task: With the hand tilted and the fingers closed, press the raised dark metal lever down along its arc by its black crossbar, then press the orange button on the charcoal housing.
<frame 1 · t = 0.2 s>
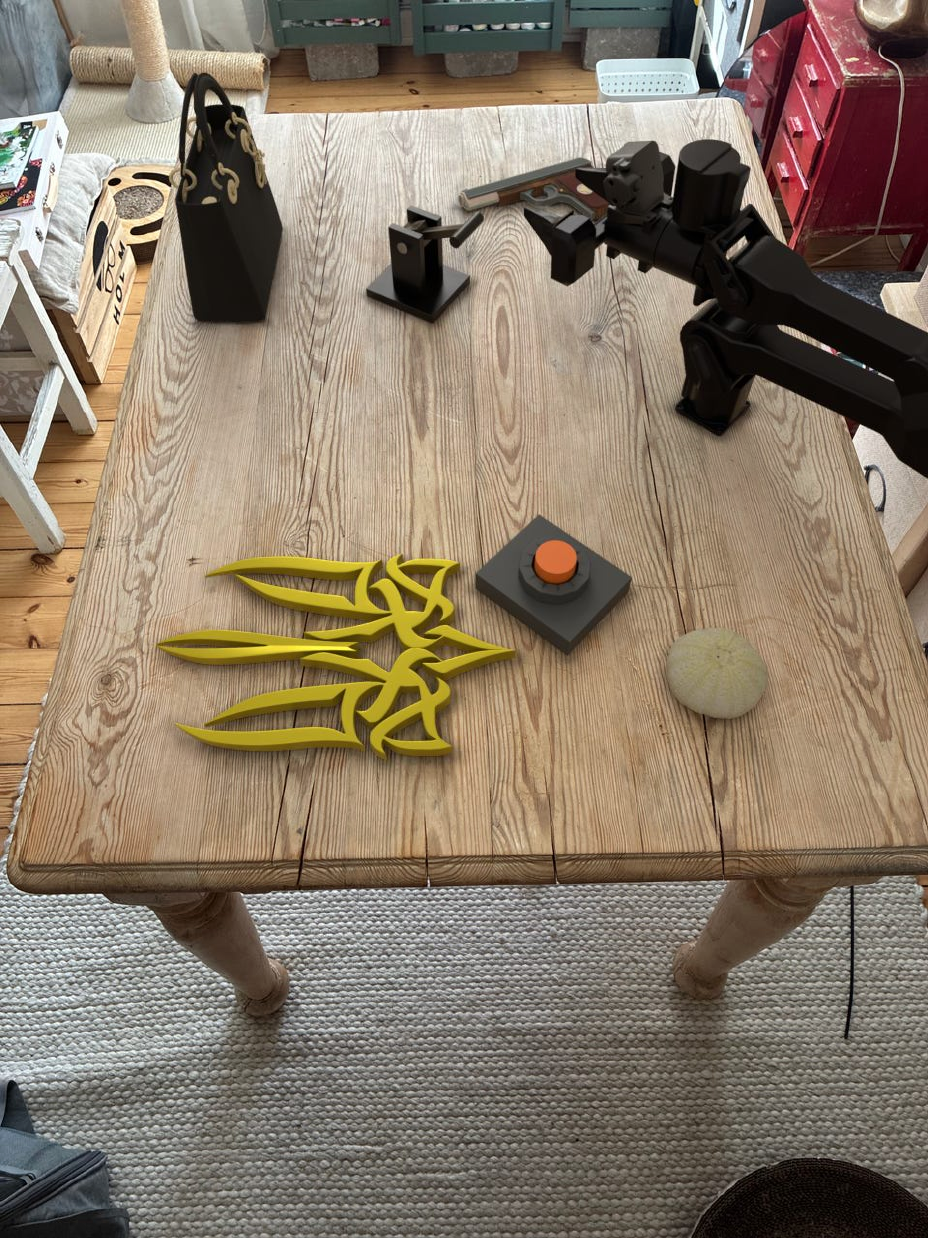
hand: (550, 191, 103), 17 cm above the table, tool horizontal, fingers open, 9 cm apart
handbag: (241, 276, 121), on the table
trident: (336, 655, 91), on the table
button: (555, 561, 91), point 5 cm above the table, slide at 0.1 cm
sea urchin shell: (710, 682, 90), on the table
bracket: (418, 289, 119), on the table
button box: (551, 590, 95), on the table
handgun: (539, 209, 128), on the table
lever: (438, 232, 110), point 10 cm above the table, hinge at 25.0°
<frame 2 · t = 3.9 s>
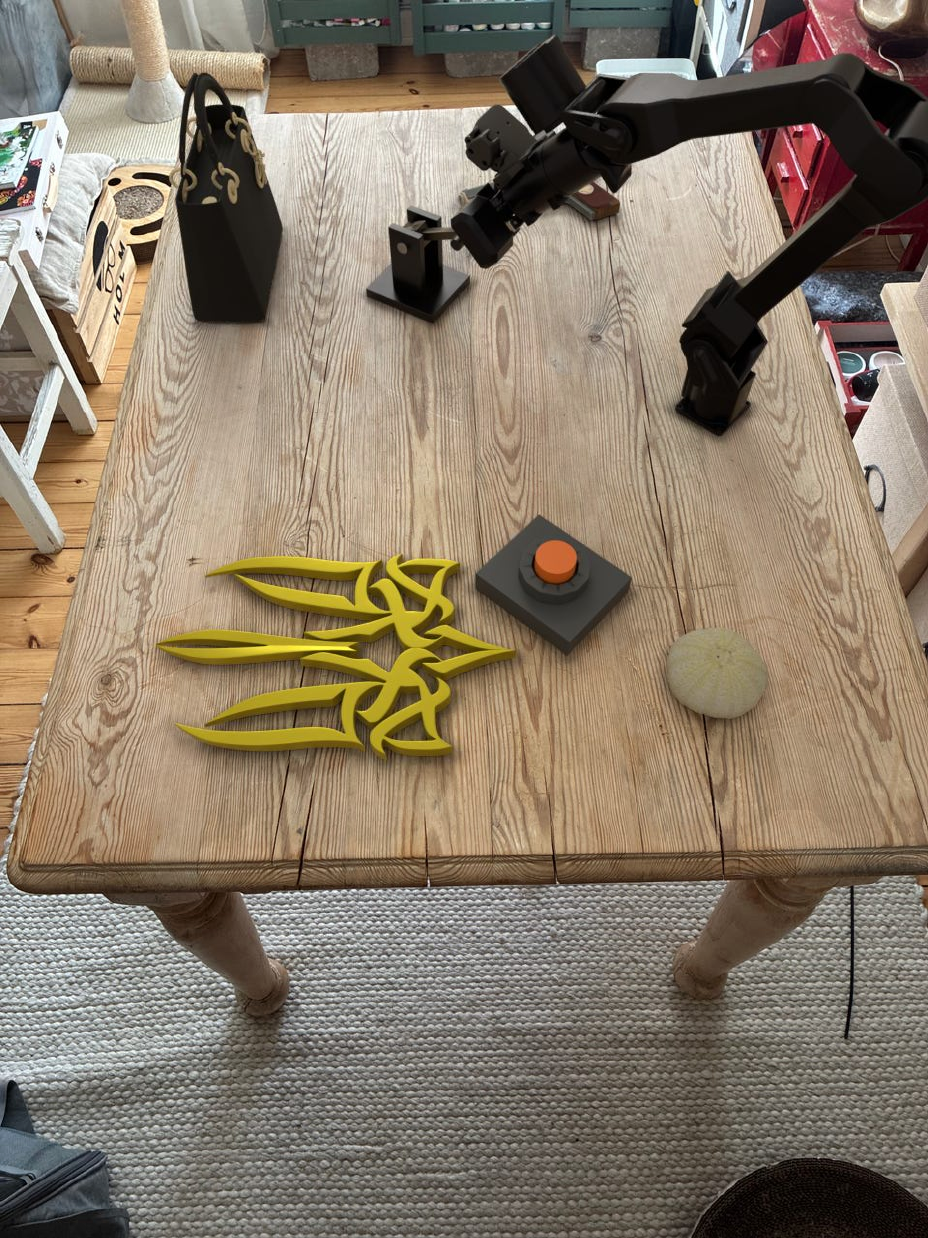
hand: (469, 227, 107), 12 cm above the table, tool tilted 45°, fingers closed, pressing on lever
lever: (439, 233, 110), point 9 cm above the table, hinge at 22.5°, touching gripper
everything else where it was.
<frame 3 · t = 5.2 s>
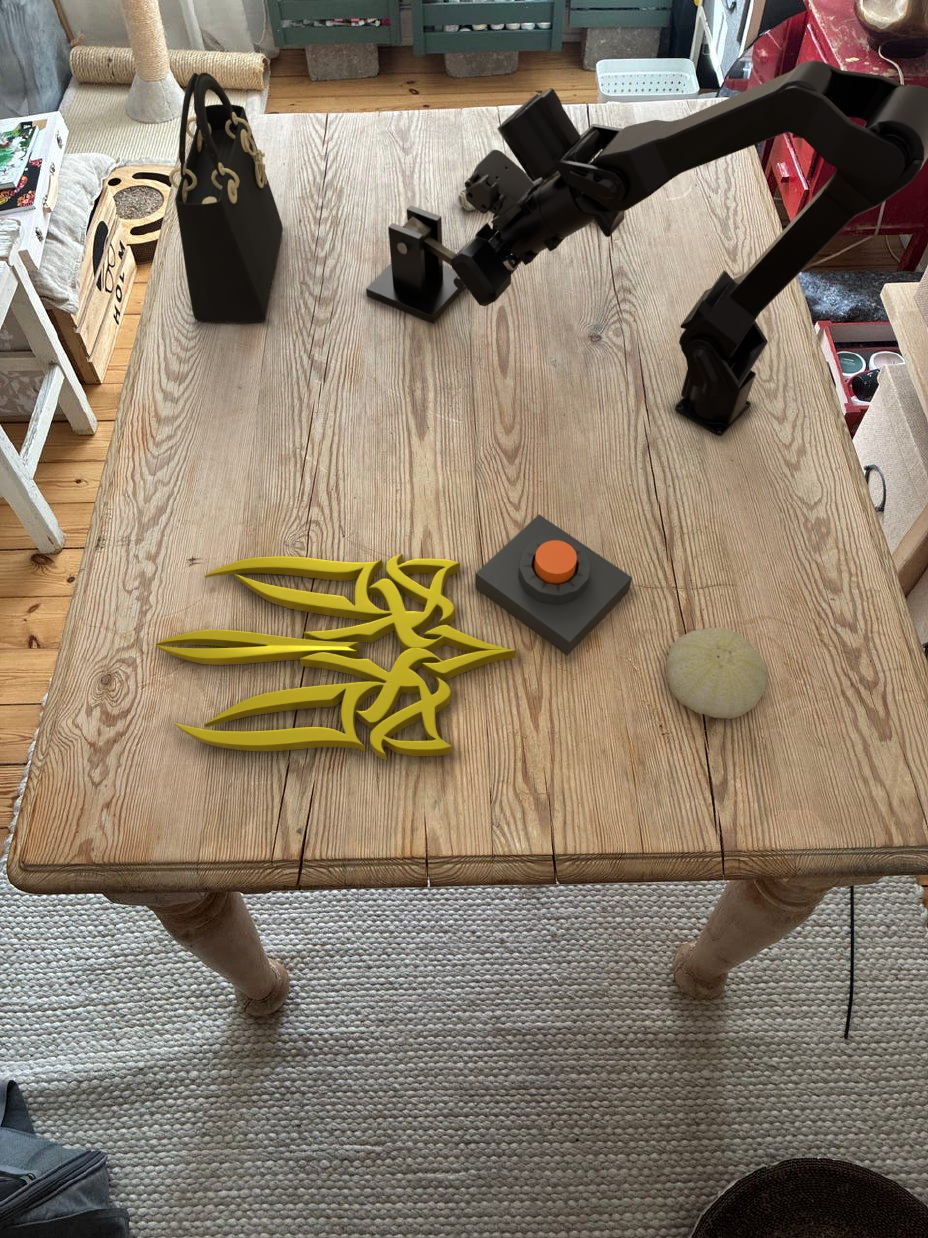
hand: (469, 263, 111), 7 cm above the table, tool tilted 45°, fingers closed, pressing on lever
lever: (440, 251, 112), point 7 cm above the table, hinge at -14.8°, touching gripper
everything else where it was.
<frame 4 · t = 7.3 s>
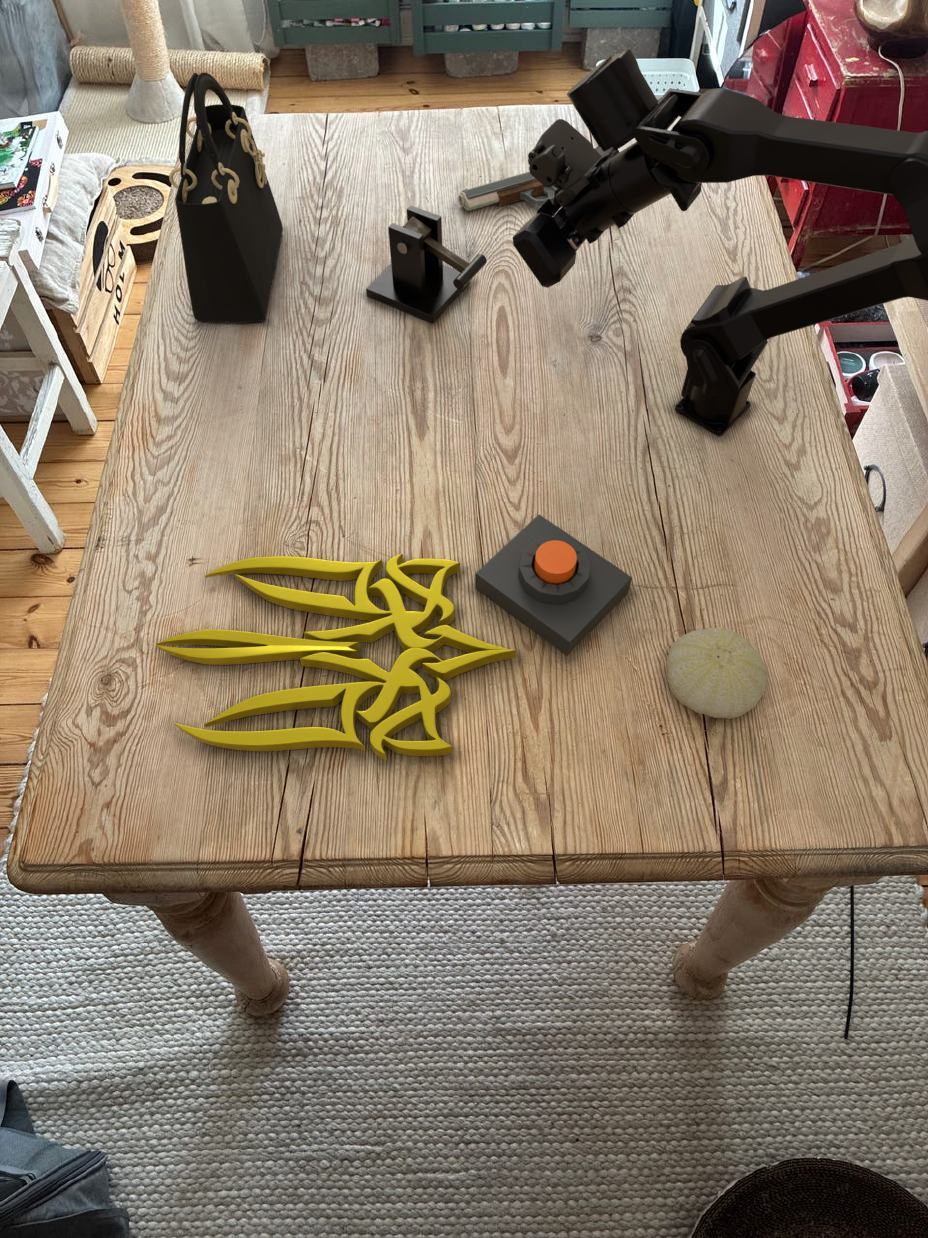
hand: (525, 243, 105), 12 cm above the table, tool tilted 45°, fingers closed
lever: (440, 251, 112), point 7 cm above the table, hinge at -15.8°
everything else where it was.
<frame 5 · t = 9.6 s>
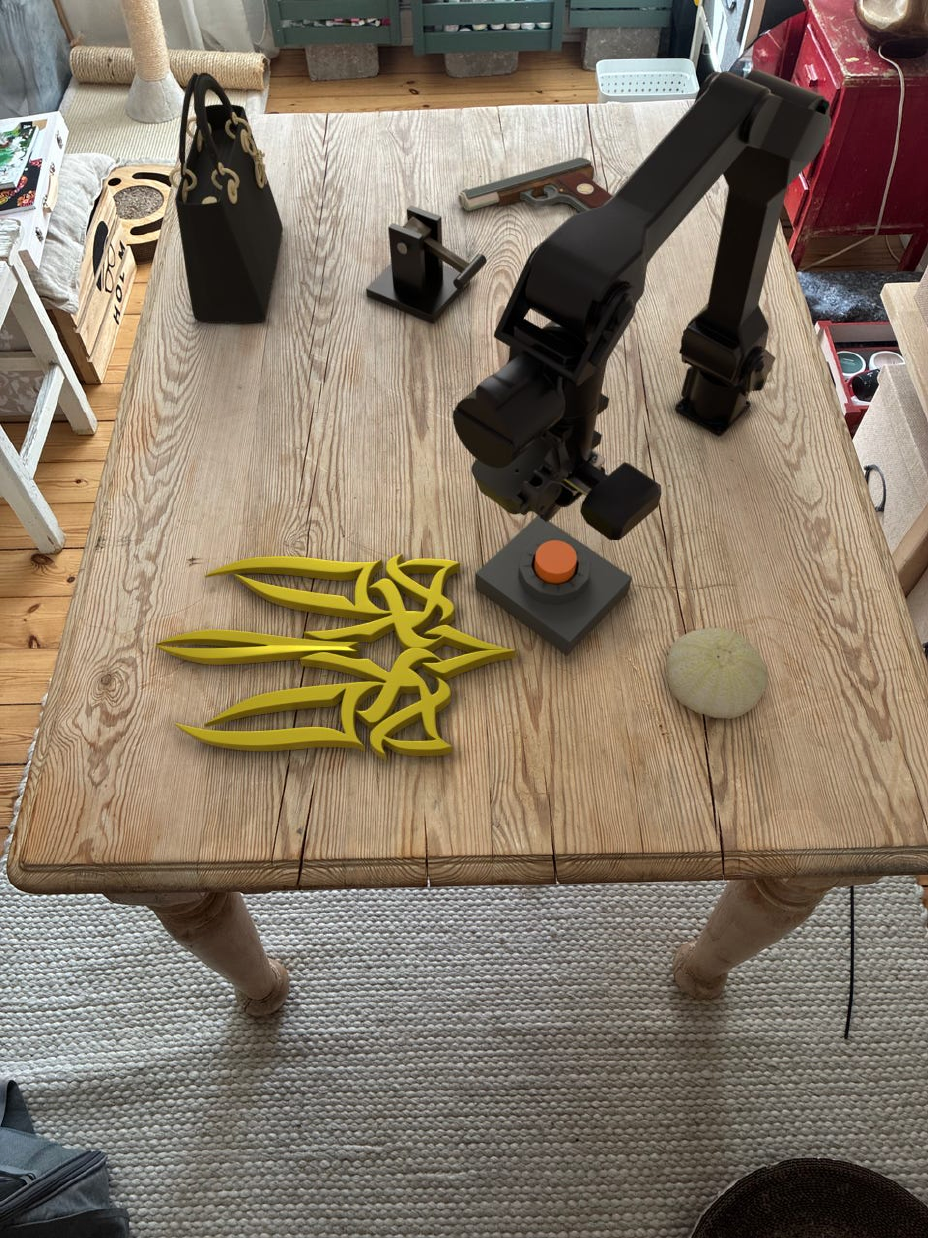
hand: (546, 517, 87), 10 cm above the table, tool pointing down, fingers closed
nothing on the table moved.
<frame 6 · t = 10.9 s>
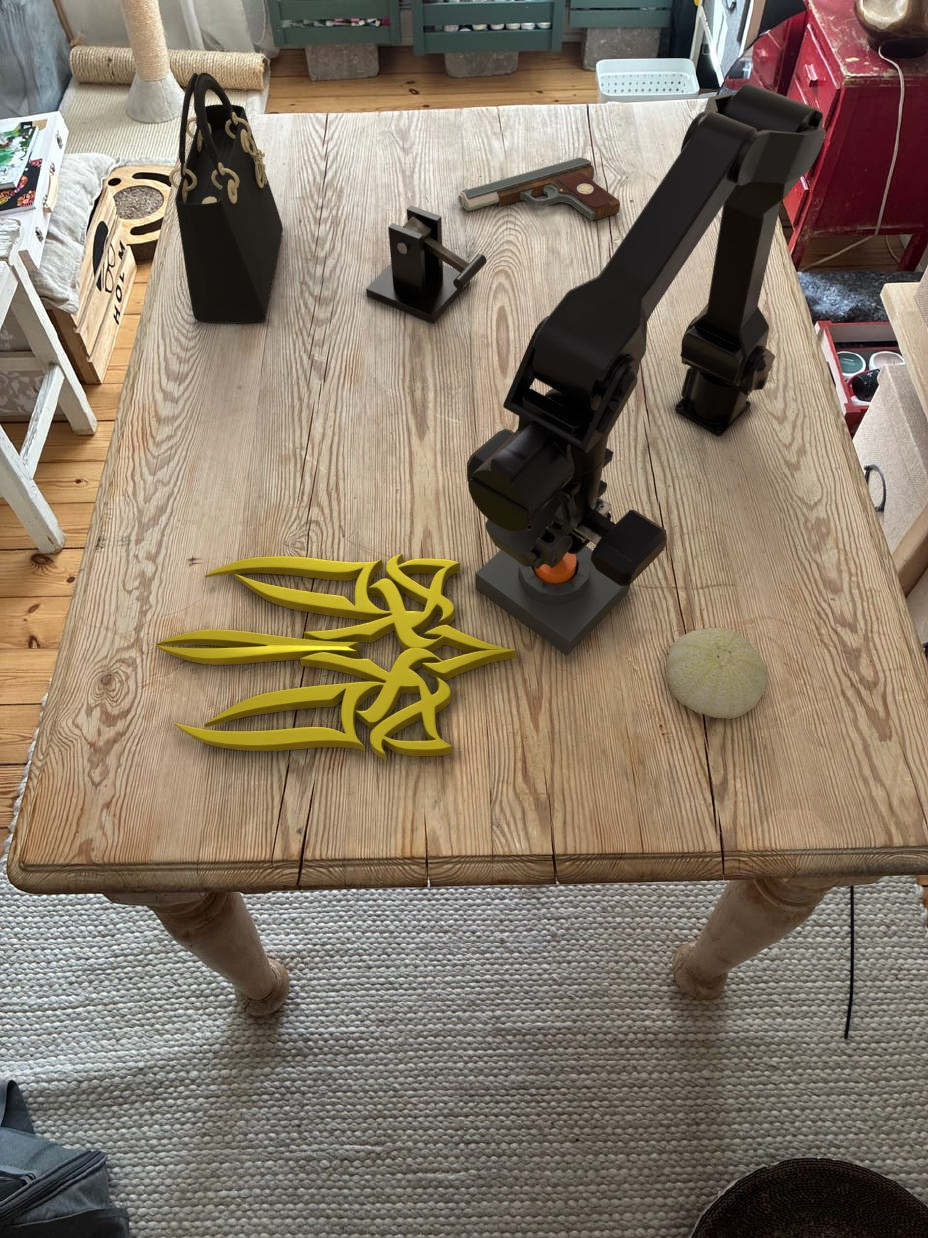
hand: (556, 558, 90), 5 cm above the table, tool pointing down, fingers closed, pressing on button
button: (555, 564, 91), point 5 cm above the table, slide at -0.3 cm, touching gripper
everything else where it was.
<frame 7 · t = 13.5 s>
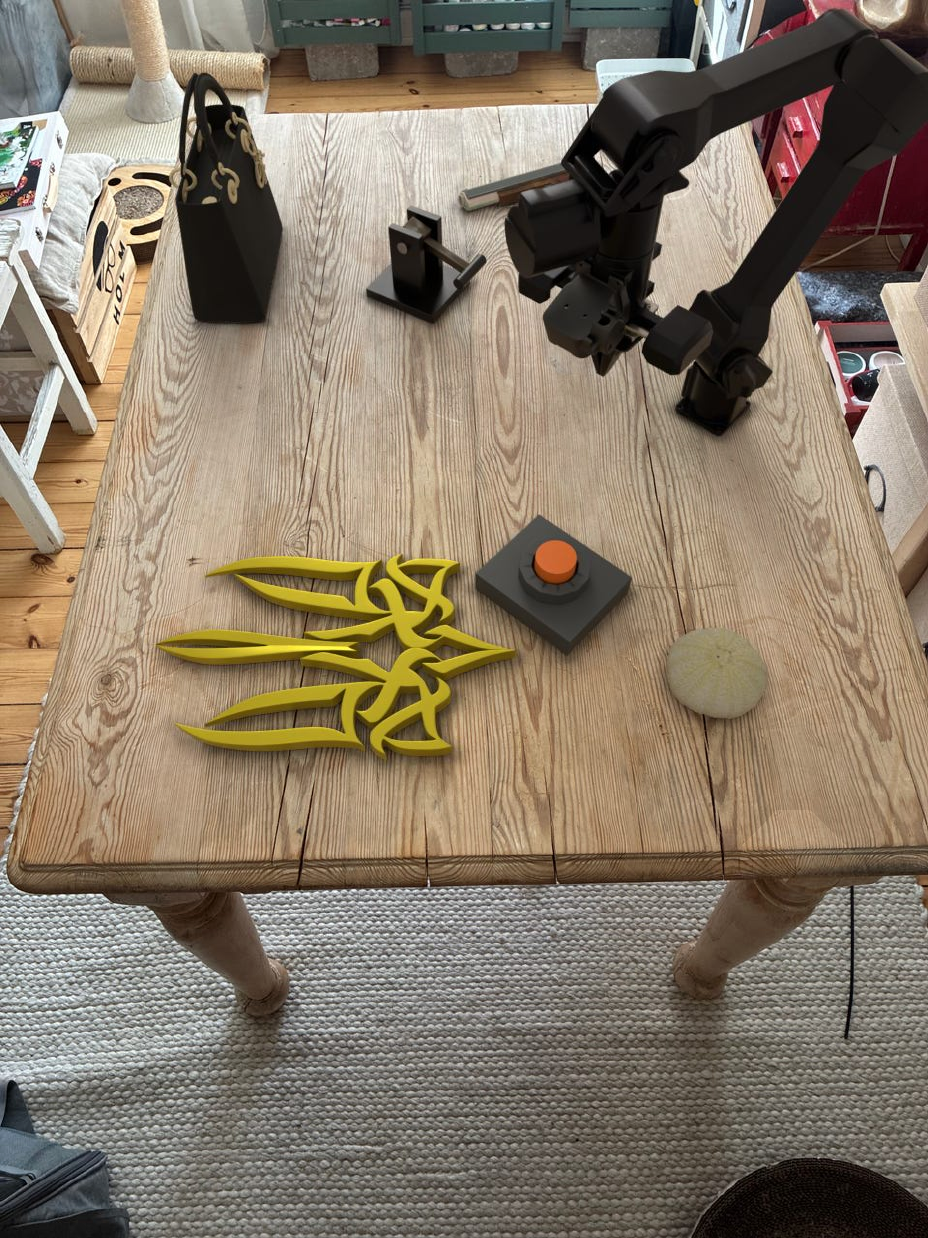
hand: (602, 373, 95), 12 cm above the table, tool pointing down, fingers closed
button: (555, 561, 91), point 5 cm above the table, slide at 0.1 cm
everything else where it was.
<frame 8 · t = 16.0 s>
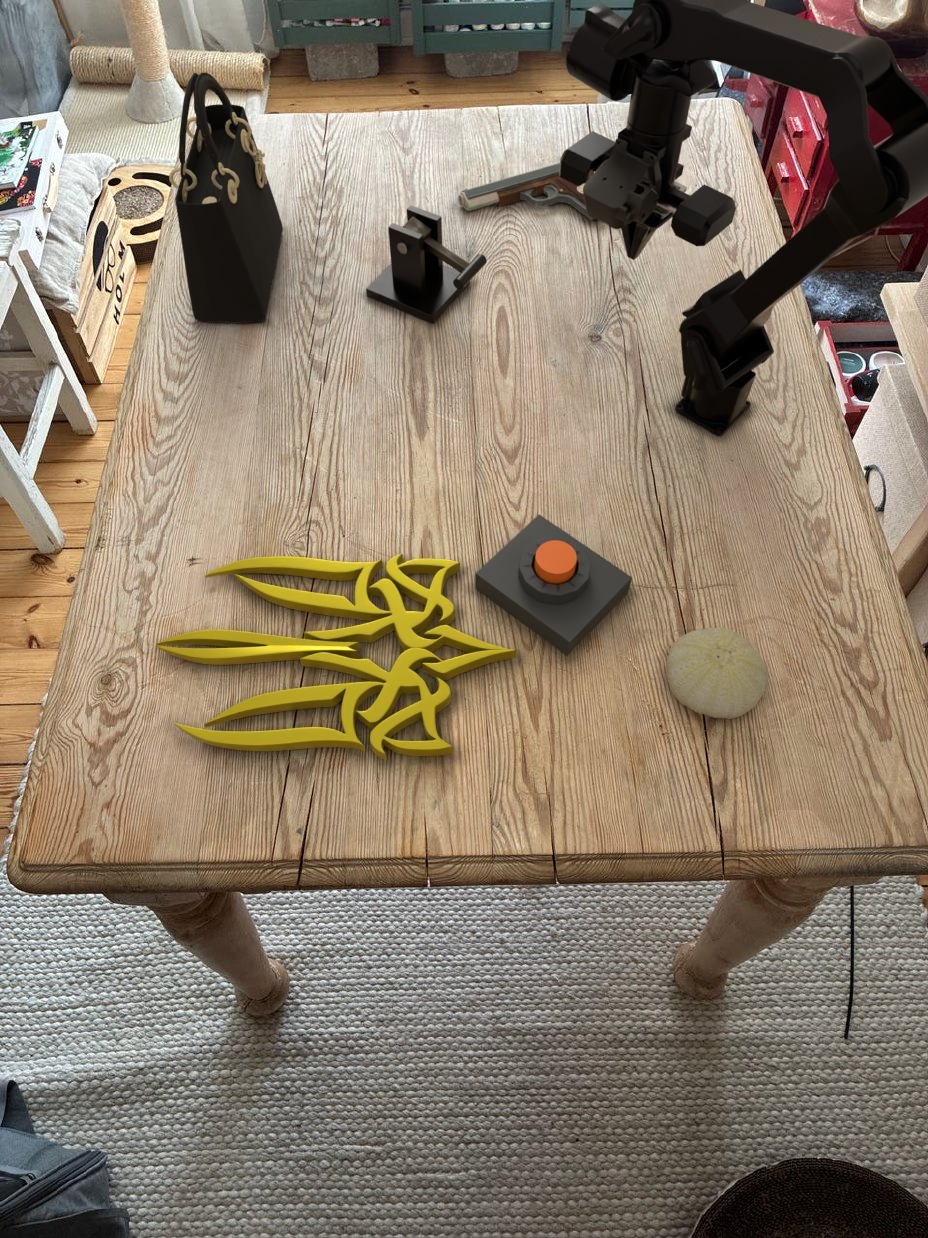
hand: (633, 256, 104), 12 cm above the table, tool pointing down, fingers closed
nothing on the table moved.
at the end: lever at -16° (first picture: +25°); button pushed in 1.1 cm at the most during the clip, back to where it started at the end; button slide at 0.1 cm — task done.
